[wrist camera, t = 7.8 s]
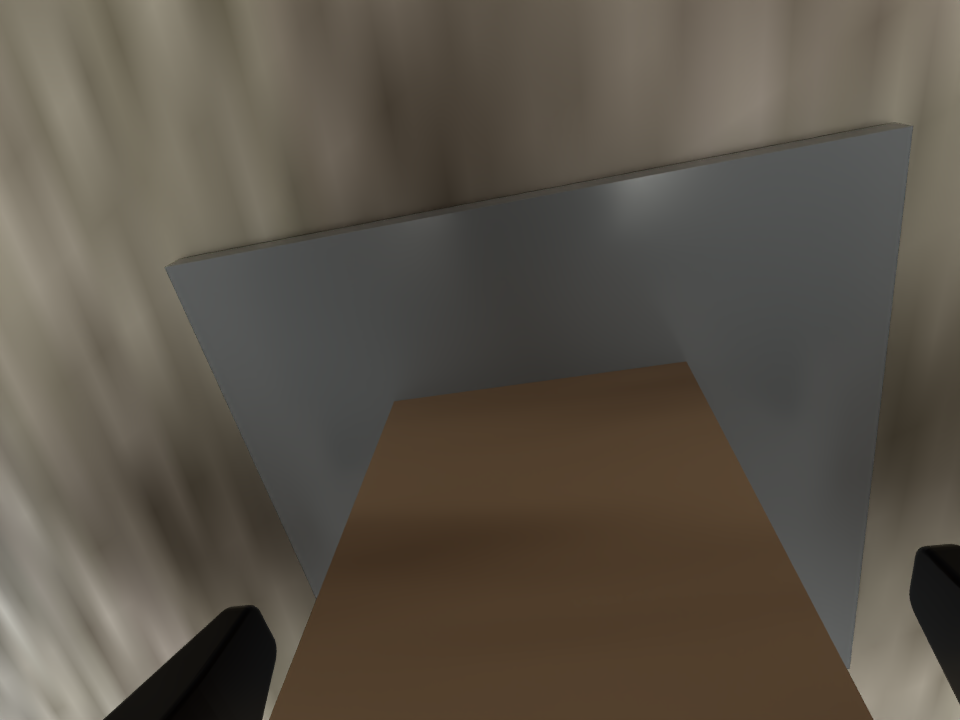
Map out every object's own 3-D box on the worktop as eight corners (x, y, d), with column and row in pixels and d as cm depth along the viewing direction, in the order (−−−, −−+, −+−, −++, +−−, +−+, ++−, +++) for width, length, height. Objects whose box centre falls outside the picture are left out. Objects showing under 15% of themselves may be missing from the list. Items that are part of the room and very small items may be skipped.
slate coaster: (839, 650, 12) (849, 668, 11) (365, 680, 13) (361, 697, 13) (894, 122, 7) (912, 125, 7) (179, 258, 9) (164, 267, 9)
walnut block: (697, 580, 11) (866, 1109, 5) (454, 599, 11) (389, 1084, 6) (686, 361, 9) (940, 849, 3) (394, 401, 9) (215, 858, 4)
